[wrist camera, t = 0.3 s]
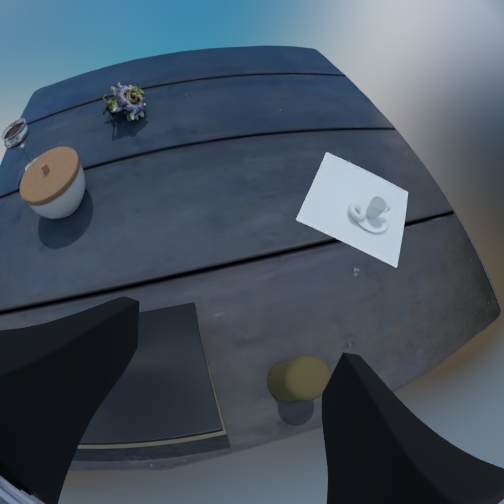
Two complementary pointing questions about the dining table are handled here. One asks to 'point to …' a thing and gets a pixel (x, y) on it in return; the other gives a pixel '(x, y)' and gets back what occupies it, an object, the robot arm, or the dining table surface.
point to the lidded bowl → (54, 183)
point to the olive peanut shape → (298, 379)
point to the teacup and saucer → (356, 208)
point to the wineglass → (17, 137)
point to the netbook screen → (159, 385)
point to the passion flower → (126, 102)
